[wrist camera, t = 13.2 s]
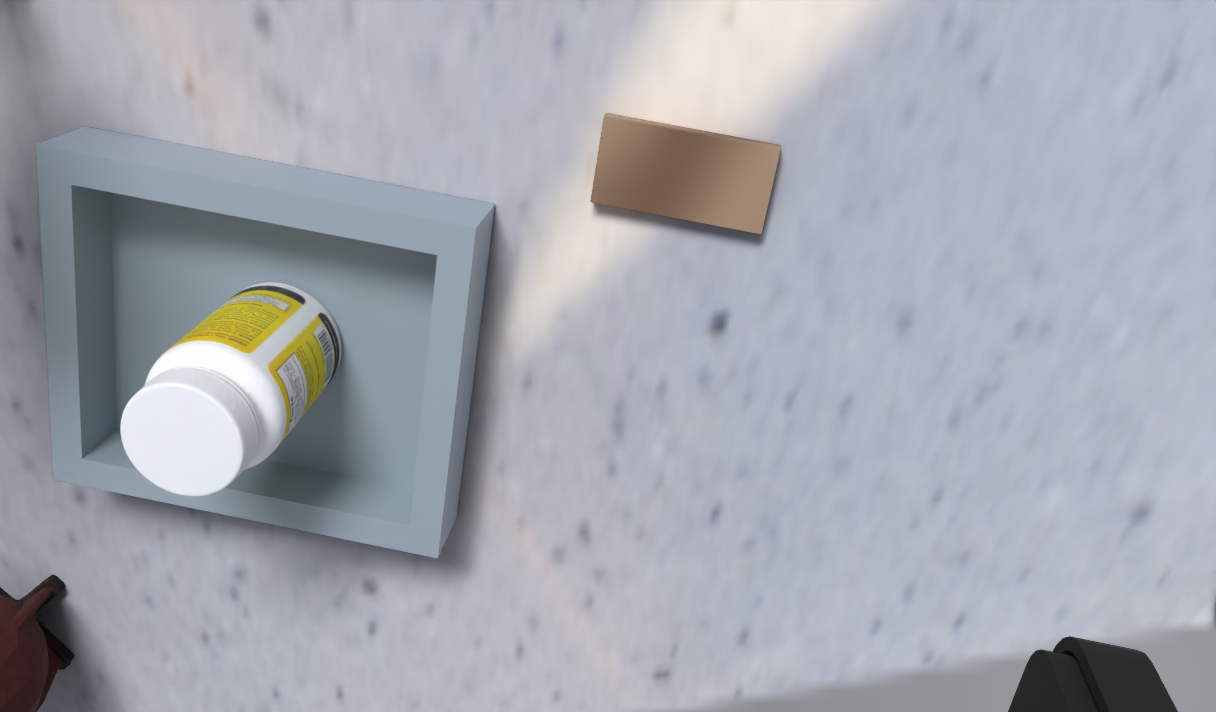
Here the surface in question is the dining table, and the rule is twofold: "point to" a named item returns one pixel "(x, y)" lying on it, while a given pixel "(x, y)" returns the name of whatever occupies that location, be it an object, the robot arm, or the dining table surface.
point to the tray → (251, 254)
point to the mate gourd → (28, 649)
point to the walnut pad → (684, 173)
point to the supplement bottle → (231, 389)
